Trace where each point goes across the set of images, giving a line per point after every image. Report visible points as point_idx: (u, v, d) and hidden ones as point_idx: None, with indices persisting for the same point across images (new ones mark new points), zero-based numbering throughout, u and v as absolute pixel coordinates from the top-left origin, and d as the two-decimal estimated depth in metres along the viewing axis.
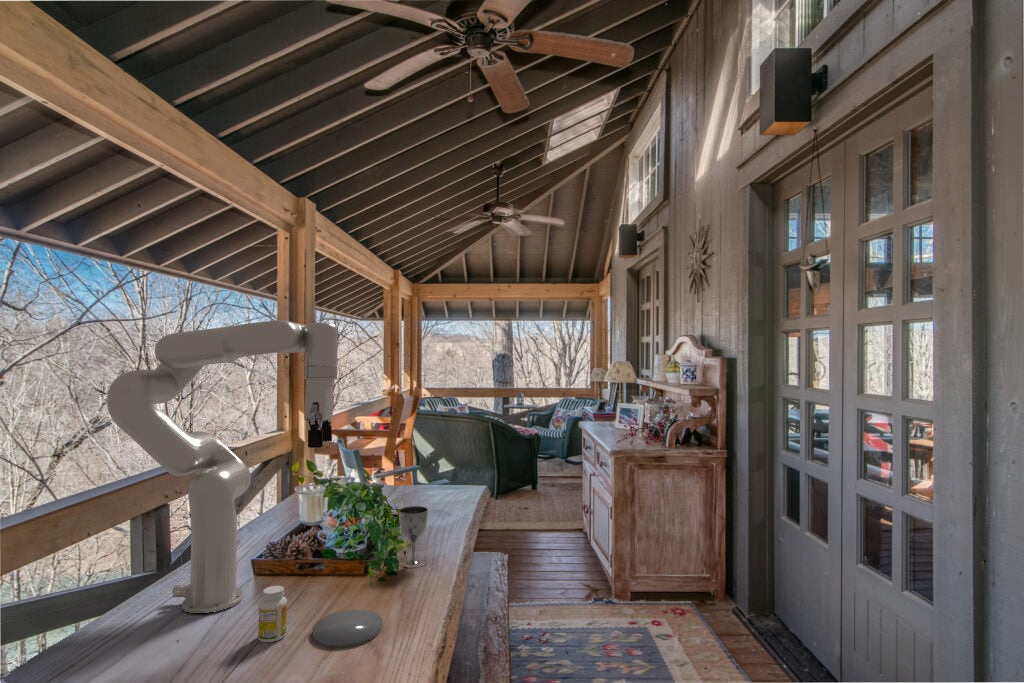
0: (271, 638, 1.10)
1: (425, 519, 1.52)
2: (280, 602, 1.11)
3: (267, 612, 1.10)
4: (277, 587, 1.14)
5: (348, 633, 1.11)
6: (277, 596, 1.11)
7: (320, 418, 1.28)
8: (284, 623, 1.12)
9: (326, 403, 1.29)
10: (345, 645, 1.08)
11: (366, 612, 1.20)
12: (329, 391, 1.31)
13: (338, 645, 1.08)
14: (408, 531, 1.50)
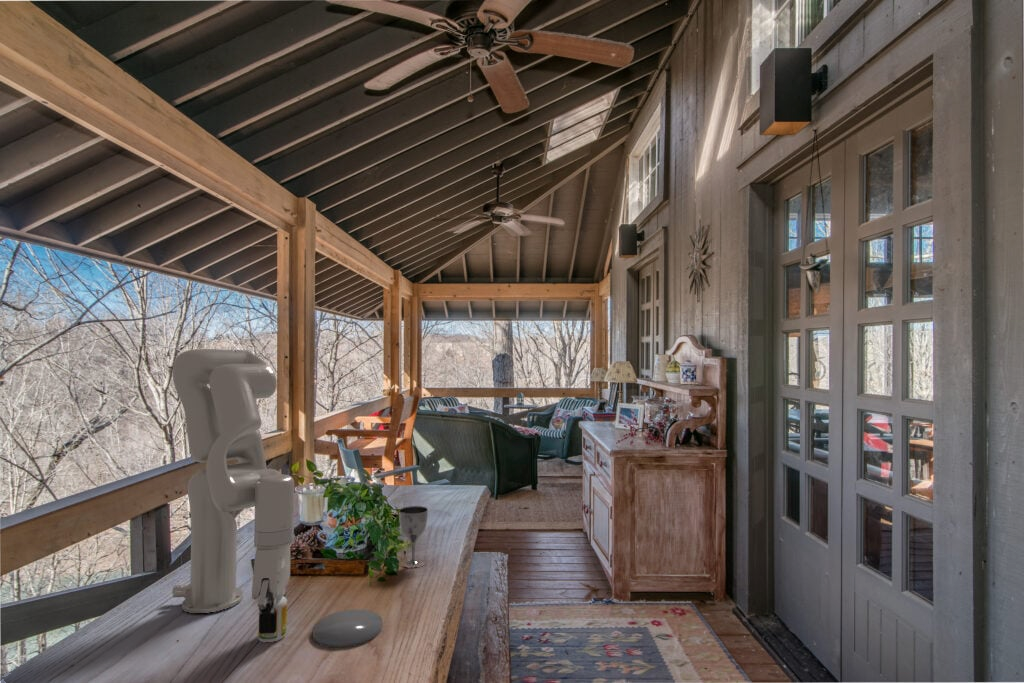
0: (271, 638, 1.10)
1: (425, 519, 1.52)
2: (280, 602, 1.11)
3: None
4: None
5: (348, 633, 1.11)
6: (277, 596, 1.11)
7: (272, 598, 1.09)
8: (284, 623, 1.12)
9: (279, 577, 1.09)
10: (345, 645, 1.08)
11: (366, 612, 1.20)
12: (283, 559, 1.11)
13: (338, 645, 1.08)
14: (408, 531, 1.50)
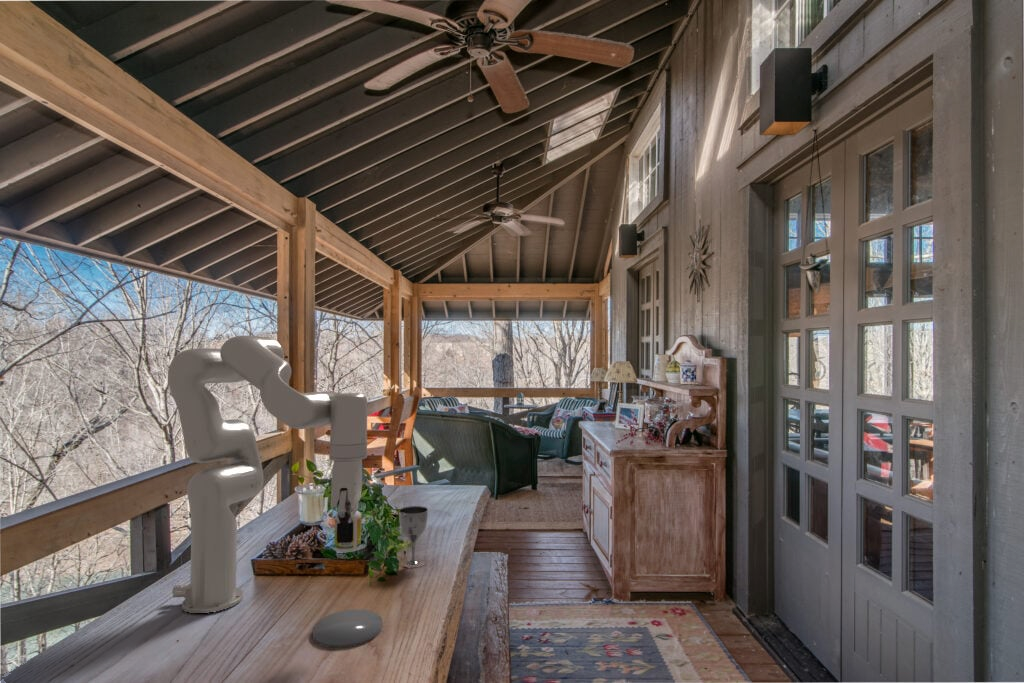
0: (348, 548, 1.13)
1: (425, 519, 1.52)
2: (355, 514, 1.15)
3: None
4: None
5: (348, 633, 1.11)
6: (353, 508, 1.14)
7: (350, 509, 1.12)
8: (359, 535, 1.15)
9: (355, 488, 1.12)
10: (345, 645, 1.08)
11: (366, 612, 1.20)
12: (358, 473, 1.15)
13: (338, 645, 1.08)
14: (408, 531, 1.50)
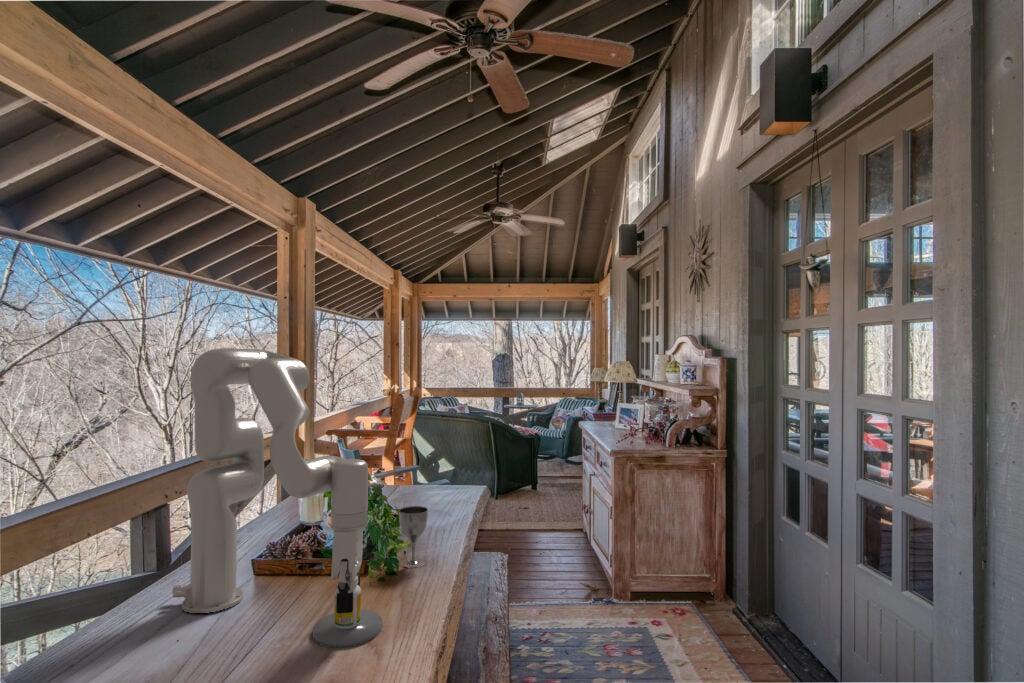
0: (348, 625, 1.13)
1: (425, 519, 1.52)
2: (355, 590, 1.14)
3: None
4: None
5: (348, 633, 1.11)
6: (353, 585, 1.14)
7: (350, 578, 1.11)
8: (359, 610, 1.15)
9: (356, 558, 1.12)
10: (345, 645, 1.08)
11: (366, 612, 1.20)
12: (359, 541, 1.14)
13: (338, 645, 1.08)
14: (408, 531, 1.50)
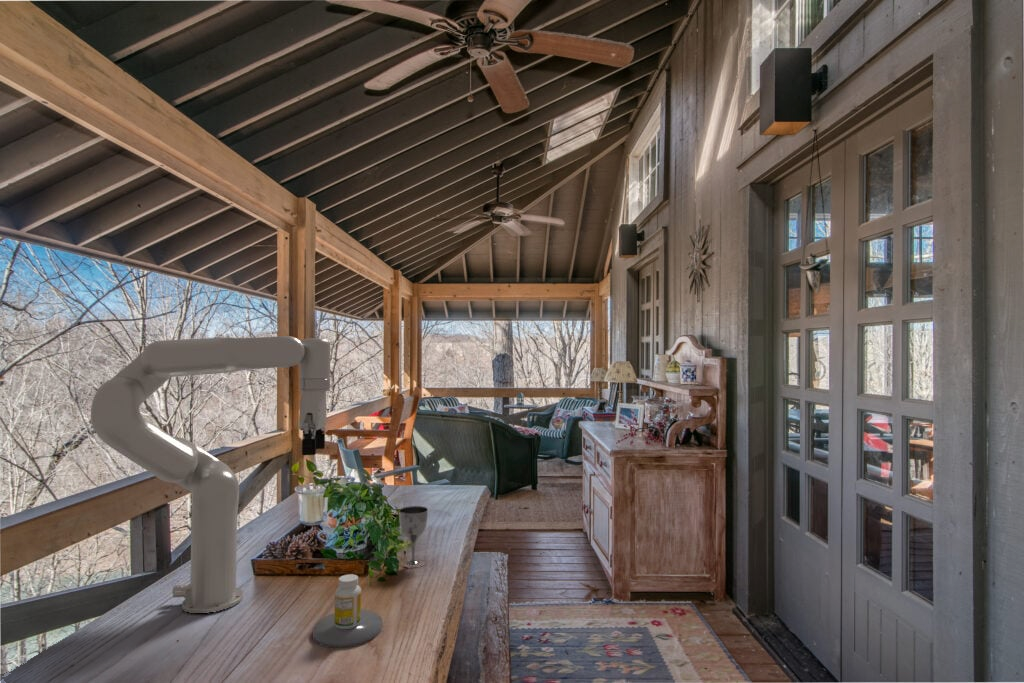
0: (348, 625, 1.13)
1: (425, 519, 1.52)
2: (355, 590, 1.14)
3: (344, 599, 1.13)
4: (351, 576, 1.17)
5: (348, 633, 1.11)
6: (353, 585, 1.14)
7: (313, 427, 1.37)
8: (359, 611, 1.15)
9: (319, 414, 1.38)
10: (345, 645, 1.08)
11: (366, 612, 1.20)
12: (322, 402, 1.40)
13: (338, 645, 1.08)
14: (408, 531, 1.50)
